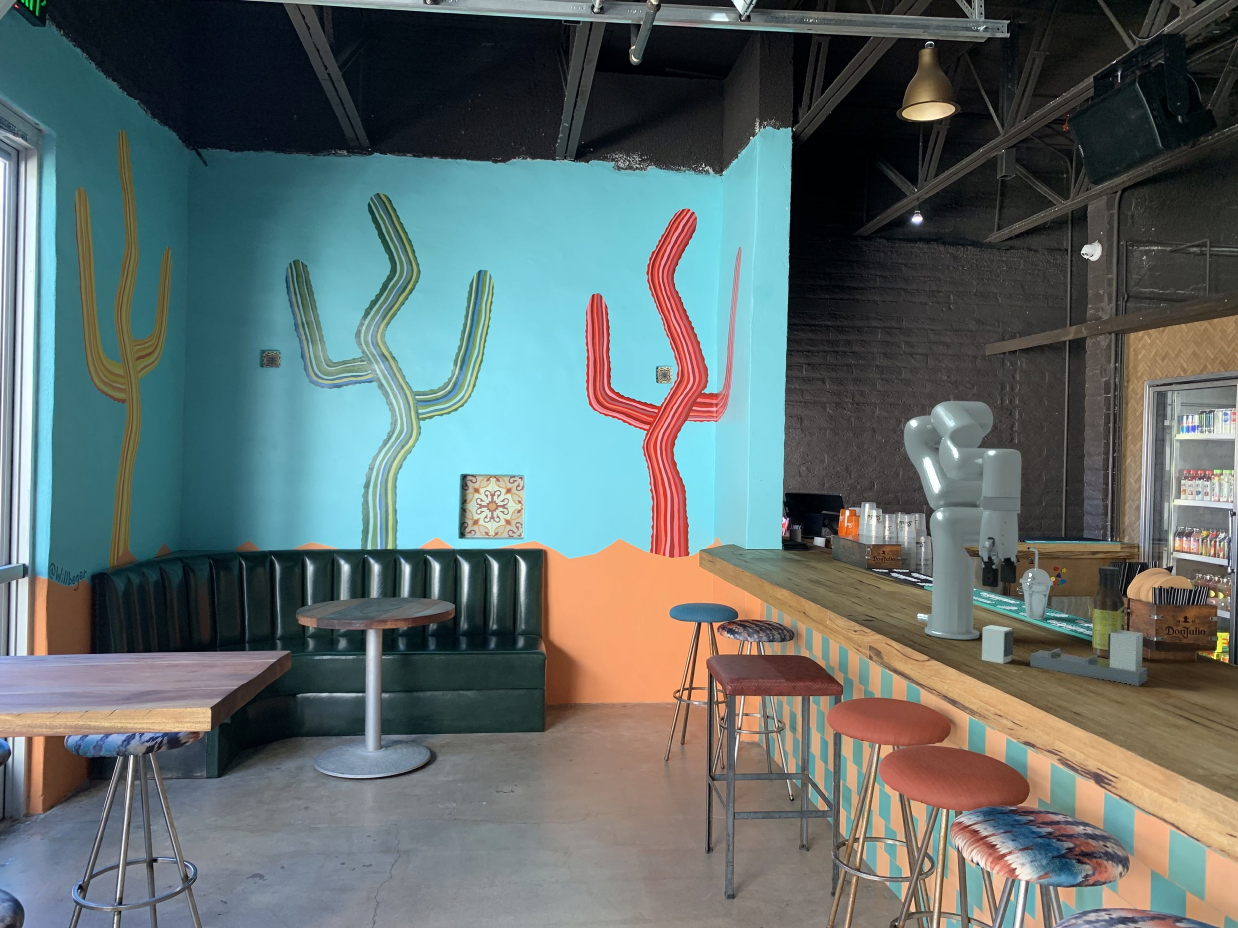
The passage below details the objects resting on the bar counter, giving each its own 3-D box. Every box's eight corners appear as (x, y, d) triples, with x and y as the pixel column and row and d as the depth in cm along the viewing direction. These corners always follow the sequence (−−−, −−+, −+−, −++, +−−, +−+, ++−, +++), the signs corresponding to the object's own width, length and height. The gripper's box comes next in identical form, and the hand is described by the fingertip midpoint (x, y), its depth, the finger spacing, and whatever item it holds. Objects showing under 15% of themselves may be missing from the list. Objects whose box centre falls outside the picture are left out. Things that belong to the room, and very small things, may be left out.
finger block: (981, 659, 182) (982, 627, 182) (990, 656, 185) (991, 624, 185) (1005, 664, 178) (1006, 631, 178) (1013, 660, 182) (1014, 628, 182)
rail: (1030, 666, 177) (1031, 621, 177) (1040, 661, 181) (1041, 617, 181) (1138, 686, 163) (1139, 637, 163) (1146, 680, 167) (1148, 633, 167)
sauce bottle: (1128, 660, 184) (1131, 570, 184) (1097, 658, 185) (1100, 568, 185) (1117, 653, 191) (1119, 566, 190) (1087, 651, 192) (1089, 565, 192)
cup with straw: (1059, 620, 229) (1061, 547, 229) (1031, 621, 227) (1033, 547, 227) (1037, 614, 238) (1039, 544, 237) (1009, 615, 235) (1011, 544, 235)
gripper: (999, 504, 190) (997, 579, 190) (967, 505, 178) (965, 585, 178) (1033, 505, 185) (1032, 583, 185) (1003, 507, 173) (1001, 590, 173)
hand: (999, 584), depth 182 cm, fingers open, 9 cm apart
